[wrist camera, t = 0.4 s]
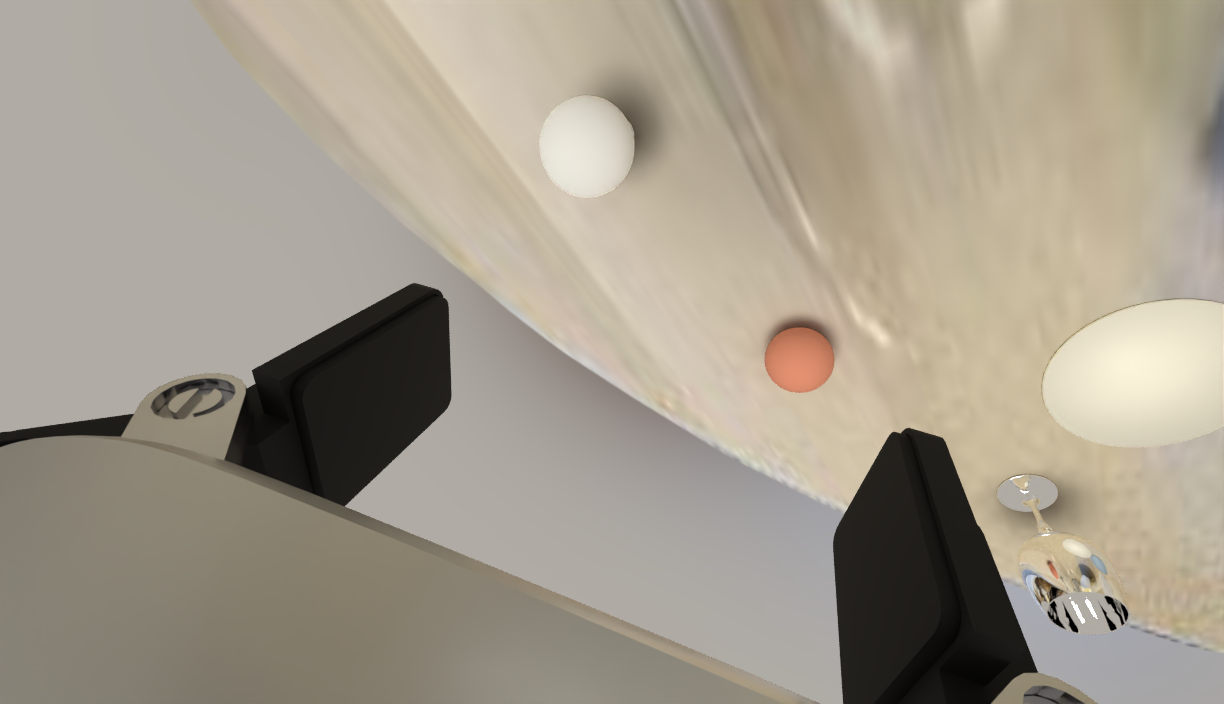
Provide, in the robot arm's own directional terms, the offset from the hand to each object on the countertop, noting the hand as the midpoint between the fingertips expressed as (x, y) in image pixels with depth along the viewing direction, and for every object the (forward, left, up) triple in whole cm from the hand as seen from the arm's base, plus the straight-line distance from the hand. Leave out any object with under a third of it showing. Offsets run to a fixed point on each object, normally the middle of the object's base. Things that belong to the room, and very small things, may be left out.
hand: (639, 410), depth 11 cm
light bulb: (-1, -11, -35) cm, 37 cm away
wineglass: (+30, +26, -35) cm, 53 cm away
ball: (+17, +5, -32) cm, 36 cm away
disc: (+17, +30, -35) cm, 49 cm away
